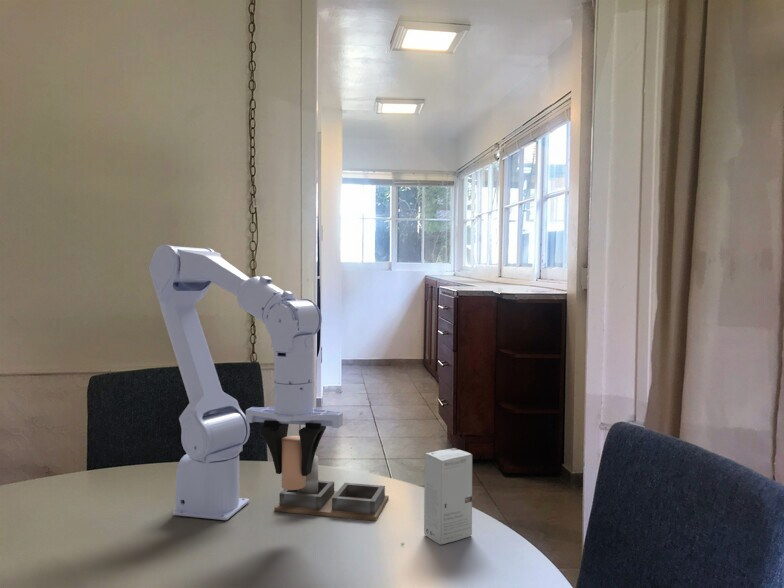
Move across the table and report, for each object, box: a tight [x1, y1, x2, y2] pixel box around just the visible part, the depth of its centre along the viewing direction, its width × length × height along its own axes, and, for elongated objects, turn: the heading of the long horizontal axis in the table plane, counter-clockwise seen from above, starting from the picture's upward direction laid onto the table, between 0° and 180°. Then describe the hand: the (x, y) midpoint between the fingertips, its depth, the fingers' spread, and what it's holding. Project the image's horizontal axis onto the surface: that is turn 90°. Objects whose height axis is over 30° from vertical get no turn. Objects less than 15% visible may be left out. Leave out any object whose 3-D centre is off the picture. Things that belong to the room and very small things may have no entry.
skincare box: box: [423, 447, 473, 546], centre depth 82 cm, size 6×4×12 cm
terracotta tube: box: [281, 435, 306, 490], centre depth 83 cm, size 4×4×7 cm
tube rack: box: [274, 454, 390, 522], centre depth 93 cm, size 17×9×8 cm, turn 78°
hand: (293, 472), depth 83 cm, fingers closed on terracotta tube, 3 cm apart
